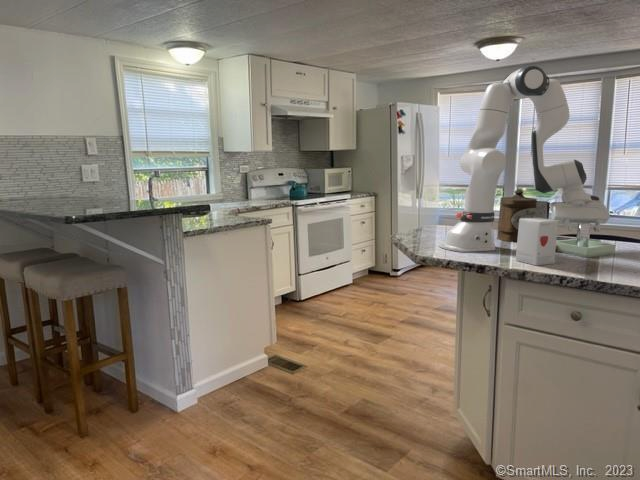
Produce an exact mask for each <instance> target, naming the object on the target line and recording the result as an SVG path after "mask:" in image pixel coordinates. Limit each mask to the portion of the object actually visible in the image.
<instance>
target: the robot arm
mask: <svg viewBox="0 0 640 480" xmlns="http://www.w3.org/2000/svg"><path fill="white" fill-rule="evenodd" d="M523 99H530V100H531V102H532V103H533V105H534V109H535V114H536V124H535V126H534V127H533V129H532V130H531V137H530V138H531V154H532V155H531V156H532V157H531V158H532V167H533V168H532V169H533V171H532V185H533V187H534V189H535V191H537V192H538V193H539V192H540V193H542V194H548V193H551V192H553V191H555V190H558V191H559V194H560V195H561V197H560V198H561V201H553V202H550V205H549V207H550V209H549V211H551V220H558V224H563V226H564V227H566V229H567V230H568V232H574V231H575V225H572V224H578V223H590V224H594V225H595V226H594V227H593V230H594V233H599V232H601V224H602V225H603V224H606V223H608V221H609V220H610V217H611V216H610V212H609V210H608V208H607V207H606V205H605V204H604V203H602V202H603V199H602V197H601V196H596V195H592V194H590V193H588V192H587V193H586V191H585V189H584V185H585V183H586V181H587V179H588V177H587V173H586V172H585V169H584V166H583V165H584V164H583V163H582V162H581V161H579V160H577V159H570V160H567V161H563V162H560V163H556V164H553V165H548V166H545V163H544V161H545V160H544V145H545V143H546V142H547V141H548V140H549V139H550V138H552V136H553V135H555V134H557V133H558V132H560V131H561V130H562V129H563V128H564V127H566V125H567V124H568V121H569V120H570V108H569V104H568V100H567V97H566V94H565V91H564V88H563V87H562V85H561V83H560V81H559V80H558V79H555V78H550V77H549V76H548V75H547V74H546V73H545V71H544V70H543V69H542V68H541V67H540V66H536V65H526V66H524V67H522V68H519V69H516V70H514V71H513V72H512V73H510V74H507V76H506V77H505V78H504V79H503V80H502V81H501V82H494V83H491V84H489V85H488V86H487V88H486V89H485V91H484V93H483V96H482V99H481V102H480V104H479V105H480V106H479V109H478V113H477V118H476V121H475V126H474V130H473V132H472V135H471V137H470V140H469V142H468V143H467V147H466V149H465V151H464V152H463V154H462V155H461V157H460V160H459V167H460V169H461V170H462V171H463V172H464V173H466V174H467V175H469V176H471V177H470V179H469V180H470V181H469V184H468V186H467V189H466V190H465V195H464V208H463V209H464V210H463V212H462V213H461V212H458V211H457V212H456V218H459V219H460V220H459V221H458V222H457V223H456V224H455V225H454V226H452V227H451V228H450V229H449V230H448V231H447V232H446V234H445V239H444V240H445V241H444V242H442V243H439V244H438V247H439V248H442V249H445V250H448V251H452V252H461V253H466V252H467V253H468V252H469V253H470V252H485V251H488V252H489V251H496V243H495V234H494V233H495V232H494V222H495V217H496V216H495V211H494V209H495V207H494V206H495V197H496V190H497V187H498V183H499V180H500V177H501V175H502V173H503V172H504V170H505V169H506V167H507V157H506V156H505V154H504V153H503V152H502V151H500V150H498V149H496V147H497V146H498V144H499V142H500V140H501V139H502V138H503V137H504V135H505V131H506V127H507V124H508V119H509V113H510V110H511V106H512V104H513V102H514V101H518V100H519V101H520V100H523Z"/></svg>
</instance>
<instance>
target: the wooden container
mask: <svg viewBox="0 0 640 480" xmlns="http://www.w3.org/2000/svg"><path fill="white" fill-rule="evenodd" d="M523 193H524V190H522V189H517V188H516V189H515V190H514V195H513V196H505V197H504V196H503V197H501V198H500V200H499V201H500V204H499V205H500V206H499V211H498V213H499V214H498V224H497V238H496V239H498V240H499V241H503V242H509V243H517V240H518V229H519V219H520V218H535V217H536V204H537V201H538V200H537V198H534V197H525V196H524V194H523Z"/></svg>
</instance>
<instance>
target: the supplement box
mask: <svg viewBox="0 0 640 480" xmlns="http://www.w3.org/2000/svg"><path fill="white" fill-rule="evenodd" d="M558 229H559V223H558V220H552V218H551V219H550V218H549V219H545V218H520V219H519V229H518V240H517V242H516V253H515V261H516V262H517V261H518V262H521V263H526V264H529V265H533V266H543V265H553V264H555V259H556V258H555V257H556V252H555V250H556V241H558V240H557V237H558Z"/></svg>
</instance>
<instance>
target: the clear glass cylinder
mask: <svg viewBox="0 0 640 480" xmlns="http://www.w3.org/2000/svg"><path fill="white" fill-rule="evenodd" d="M591 224H592V223H577V231H576V238H575V239H576V246H581V247H589V240H590V235H591Z"/></svg>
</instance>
